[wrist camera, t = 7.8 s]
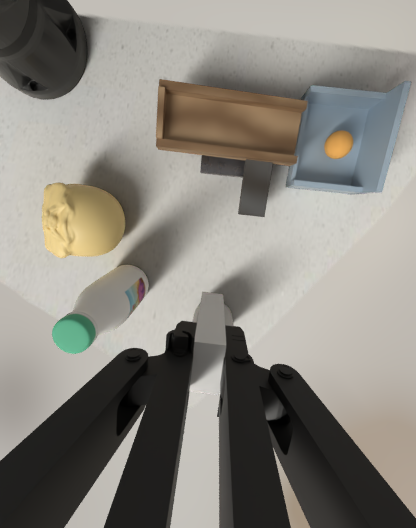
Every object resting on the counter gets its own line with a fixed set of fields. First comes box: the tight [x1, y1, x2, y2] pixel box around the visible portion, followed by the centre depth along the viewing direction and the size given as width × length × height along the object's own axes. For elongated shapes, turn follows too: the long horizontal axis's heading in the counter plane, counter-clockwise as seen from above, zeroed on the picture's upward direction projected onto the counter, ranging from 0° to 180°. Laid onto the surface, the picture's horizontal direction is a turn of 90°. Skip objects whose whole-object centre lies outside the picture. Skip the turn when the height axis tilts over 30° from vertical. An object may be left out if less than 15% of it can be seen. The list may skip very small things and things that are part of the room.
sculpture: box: [42, 183, 125, 258], centre depth 40 cm, size 12×12×11 cm
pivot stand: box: [200, 155, 245, 178], centre depth 39 cm, size 12×8×4 cm, turn 174°
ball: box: [324, 130, 353, 159], centre depth 38 cm, size 4×4×4 cm
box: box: [286, 81, 411, 194], centre depth 37 cm, size 14×11×8 cm
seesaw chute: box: [156, 79, 308, 217], centre depth 36 cm, size 16×20×3 cm
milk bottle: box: [52, 265, 149, 354], centre depth 38 cm, size 8×8×20 cm
